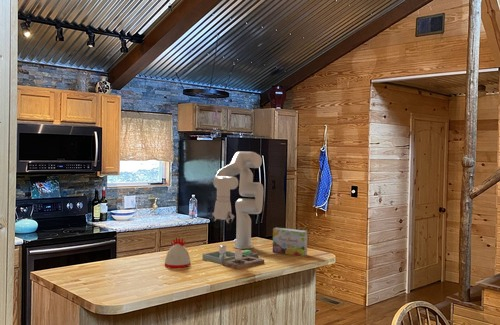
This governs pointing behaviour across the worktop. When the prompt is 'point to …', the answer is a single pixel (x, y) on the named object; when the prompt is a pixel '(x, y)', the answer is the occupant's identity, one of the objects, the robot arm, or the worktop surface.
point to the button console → (250, 255)
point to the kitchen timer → (177, 255)
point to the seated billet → (238, 256)
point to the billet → (222, 251)
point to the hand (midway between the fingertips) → (222, 229)
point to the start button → (247, 252)
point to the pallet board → (243, 262)
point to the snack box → (290, 241)
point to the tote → (215, 257)
